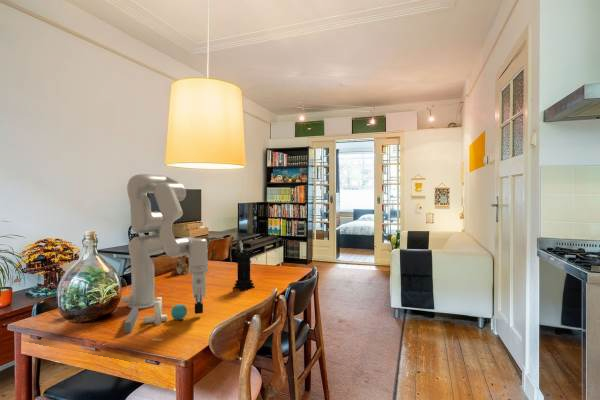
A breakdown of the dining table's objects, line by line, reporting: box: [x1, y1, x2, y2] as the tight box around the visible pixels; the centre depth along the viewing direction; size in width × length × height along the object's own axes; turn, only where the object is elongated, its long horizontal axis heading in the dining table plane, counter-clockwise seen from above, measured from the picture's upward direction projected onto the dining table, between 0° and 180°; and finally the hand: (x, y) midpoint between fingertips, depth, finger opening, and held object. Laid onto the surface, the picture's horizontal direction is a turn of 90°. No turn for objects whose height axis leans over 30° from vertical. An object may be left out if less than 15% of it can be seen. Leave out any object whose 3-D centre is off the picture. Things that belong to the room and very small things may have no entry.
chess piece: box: [233, 249, 255, 291], centre depth 178 cm, size 8×8×20 cm
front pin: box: [142, 314, 168, 324], centre depth 131 cm, size 2×2×8 cm
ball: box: [170, 303, 188, 321], centre depth 133 cm, size 6×6×6 cm
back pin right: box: [153, 301, 162, 326], centre depth 129 cm, size 2×2×8 cm
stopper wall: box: [123, 306, 139, 334], centre depth 128 cm, size 2×18×4 cm, turn 18°
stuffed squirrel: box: [170, 255, 190, 276], centre depth 214 cm, size 10×14×13 cm
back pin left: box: [155, 296, 163, 315], centre depth 134 cm, size 2×2×8 cm
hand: (198, 312), depth 136 cm, fingers closed
